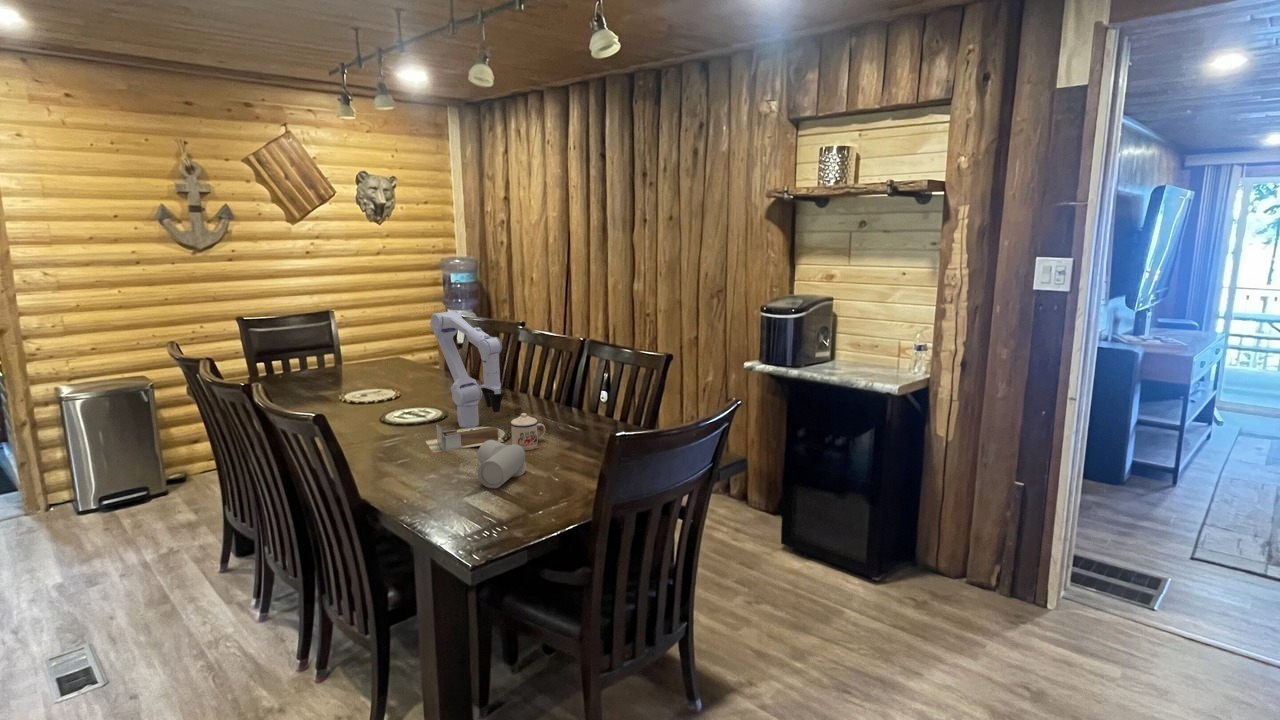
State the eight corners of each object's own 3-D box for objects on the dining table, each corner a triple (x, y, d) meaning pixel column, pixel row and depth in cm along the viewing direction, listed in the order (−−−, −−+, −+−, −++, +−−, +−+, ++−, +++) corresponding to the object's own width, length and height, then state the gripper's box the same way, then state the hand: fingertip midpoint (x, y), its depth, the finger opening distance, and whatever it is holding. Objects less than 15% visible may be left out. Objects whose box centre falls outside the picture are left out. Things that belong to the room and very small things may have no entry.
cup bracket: (437, 444, 236) (436, 424, 235) (456, 441, 239) (455, 421, 238) (442, 451, 229) (441, 430, 228) (461, 448, 232) (460, 428, 231)
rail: (446, 445, 236) (445, 433, 235) (495, 437, 243) (495, 426, 242) (448, 448, 232) (447, 436, 232) (498, 440, 240) (497, 429, 239)
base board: (425, 443, 241) (424, 440, 240) (493, 433, 251) (493, 430, 251) (433, 455, 228) (432, 452, 228) (504, 444, 239) (504, 441, 239)
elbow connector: (544, 472, 210) (506, 456, 224) (537, 441, 206) (498, 427, 220) (497, 501, 199) (459, 482, 213) (488, 469, 195) (450, 452, 209)
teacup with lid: (517, 452, 231) (515, 419, 228) (507, 445, 238) (506, 412, 236) (550, 446, 236) (549, 413, 234) (540, 439, 244) (539, 407, 242)
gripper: (475, 369, 250) (477, 405, 252) (485, 377, 237) (487, 415, 240) (494, 367, 253) (496, 403, 256) (505, 375, 240) (507, 413, 243)
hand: (493, 409), depth 248 cm, fingers open, 7 cm apart
